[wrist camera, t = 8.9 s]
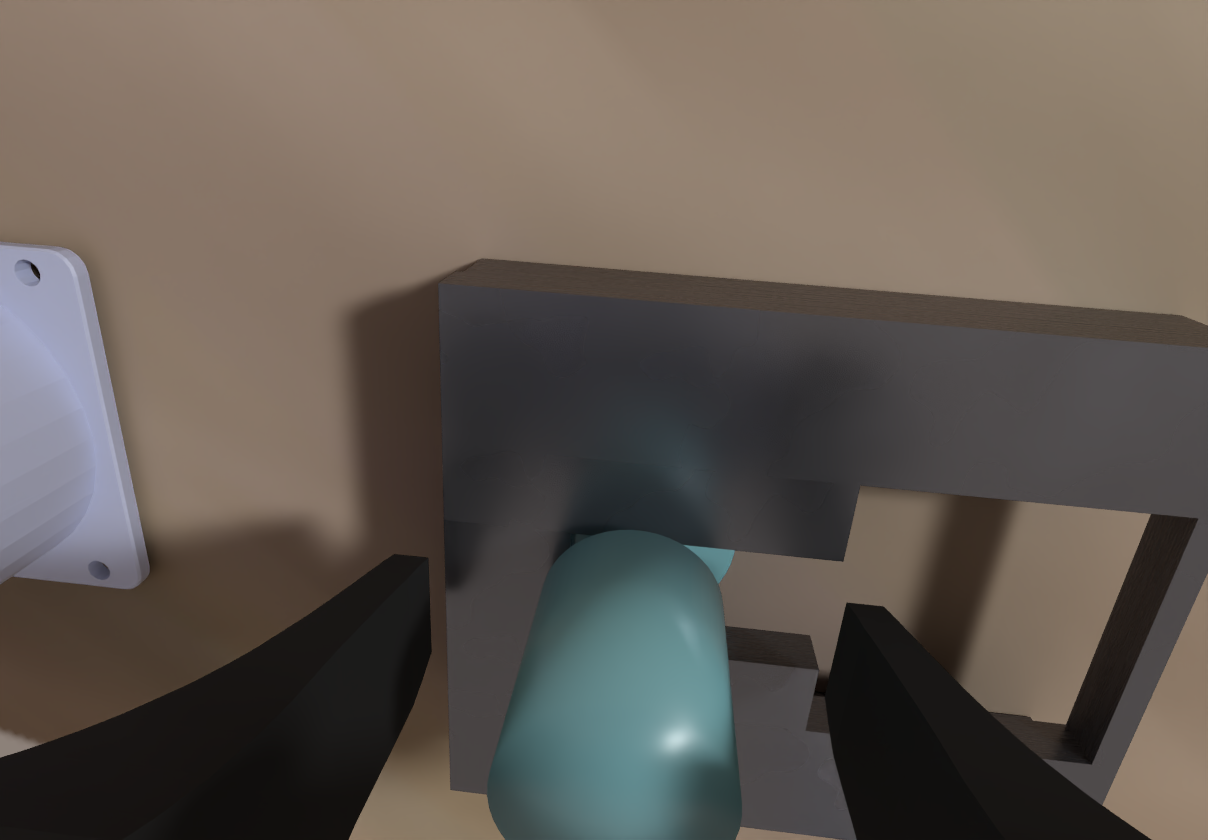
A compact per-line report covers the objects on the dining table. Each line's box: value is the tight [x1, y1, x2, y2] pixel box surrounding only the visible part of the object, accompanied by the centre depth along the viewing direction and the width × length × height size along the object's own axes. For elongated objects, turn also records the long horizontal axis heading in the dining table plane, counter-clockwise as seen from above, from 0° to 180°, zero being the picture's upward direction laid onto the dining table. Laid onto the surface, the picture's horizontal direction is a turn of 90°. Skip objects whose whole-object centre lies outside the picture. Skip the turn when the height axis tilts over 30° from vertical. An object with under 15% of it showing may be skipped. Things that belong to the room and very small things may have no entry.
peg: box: [487, 530, 742, 840], centre depth 13 cm, size 4×4×7 cm
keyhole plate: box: [438, 259, 1208, 840], centre depth 15 cm, size 13×11×3 cm
